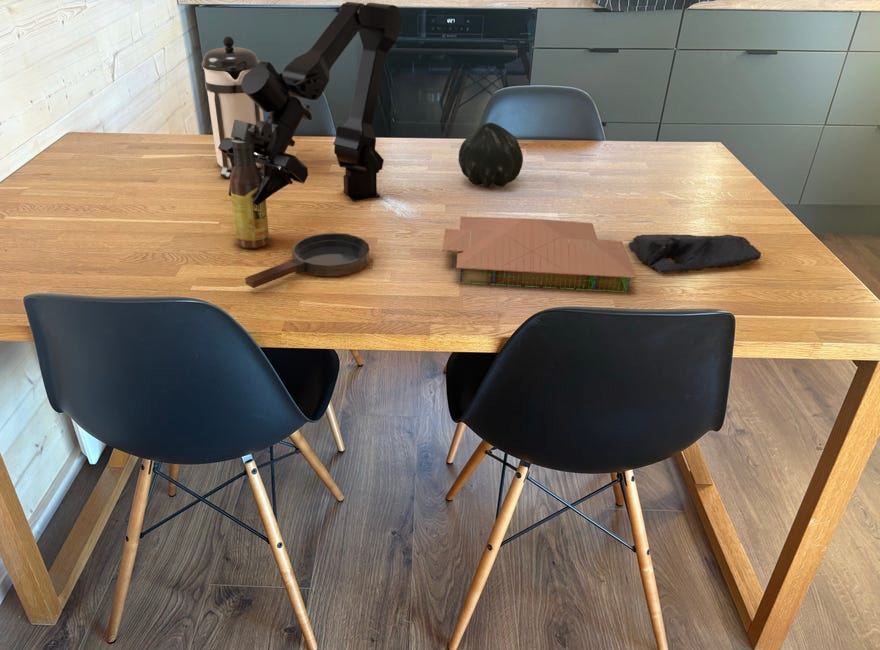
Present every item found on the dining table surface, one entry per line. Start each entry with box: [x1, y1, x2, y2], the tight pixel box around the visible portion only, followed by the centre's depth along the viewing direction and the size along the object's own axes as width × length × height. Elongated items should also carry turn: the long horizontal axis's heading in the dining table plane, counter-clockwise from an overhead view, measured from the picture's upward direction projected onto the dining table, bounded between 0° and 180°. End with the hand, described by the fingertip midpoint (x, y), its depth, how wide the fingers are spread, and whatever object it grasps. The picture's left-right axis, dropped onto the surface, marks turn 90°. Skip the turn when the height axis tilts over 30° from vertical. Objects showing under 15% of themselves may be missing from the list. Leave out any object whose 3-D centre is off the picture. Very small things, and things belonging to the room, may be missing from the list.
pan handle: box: [244, 258, 306, 289], centre depth 121 cm, size 11×3×2 cm, turn 135°
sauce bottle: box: [229, 138, 270, 250], centre depth 130 cm, size 6×6×20 cm
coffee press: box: [201, 36, 265, 179], centre depth 164 cm, size 17×16×30 cm
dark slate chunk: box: [628, 233, 762, 274], centre depth 131 cm, size 15×22×5 cm
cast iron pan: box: [291, 232, 371, 277], centre depth 128 cm, size 14×14×2 cm
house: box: [441, 216, 637, 293], centre depth 128 cm, size 23×33×8 cm
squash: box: [458, 122, 524, 188], centre depth 162 cm, size 14×15×15 cm
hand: (242, 200), depth 129 cm, fingers closed on sauce bottle, 6 cm apart
